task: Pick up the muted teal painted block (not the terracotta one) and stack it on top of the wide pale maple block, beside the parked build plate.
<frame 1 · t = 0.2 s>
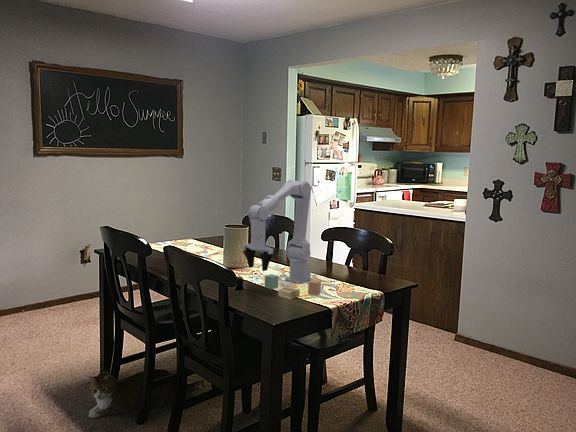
hand: (257, 268, 204), 10 cm above the table, fingers open, 7 cm apart
terracotta block: (314, 293, 206), on the table
maple block: (288, 296, 202), on the table
teal block: (271, 287, 213), on the table
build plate: (238, 288, 213), on the table
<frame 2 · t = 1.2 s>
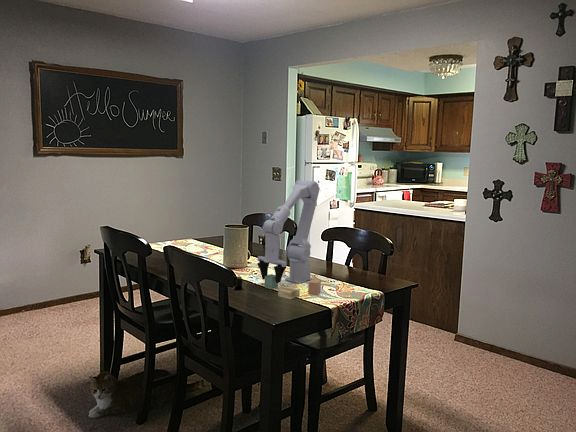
hand: (271, 280, 213), 3 cm above the table, fingers open, 7 cm apart
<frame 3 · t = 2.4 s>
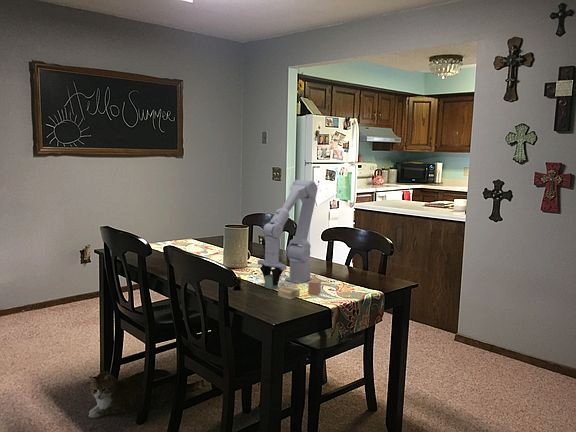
hand: (271, 284, 213), 1 cm above the table, fingers closed on teal block, 4 cm apart
teal block: (271, 287, 213), on the table, touching gripper
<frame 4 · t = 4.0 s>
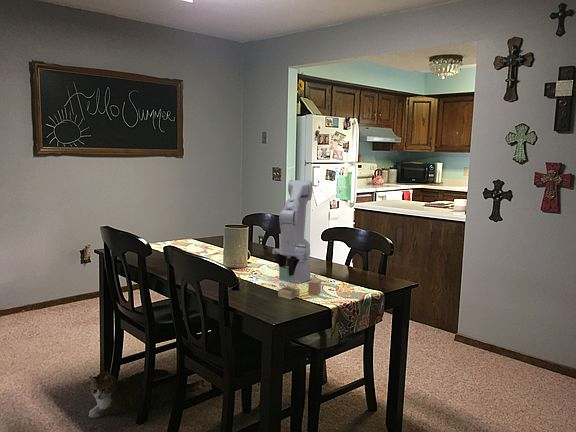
hand: (287, 274, 202), 8 cm above the table, fingers closed on teal block, 4 cm apart
teal block: (286, 279, 202), point 6 cm above the table, touching gripper
when the fingers open (6 cm above the table, at t = 5.4 s): teal block drops 1 cm, resting on maple block.
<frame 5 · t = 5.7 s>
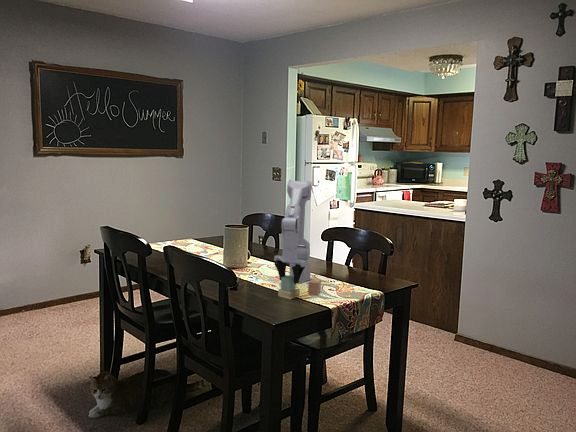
hand: (289, 281, 201), 6 cm above the table, fingers open, 7 cm apart
maple block: (288, 296, 202), on the table, touching teal block
teal block: (288, 289, 201), point 3 cm above the table, touching maple block
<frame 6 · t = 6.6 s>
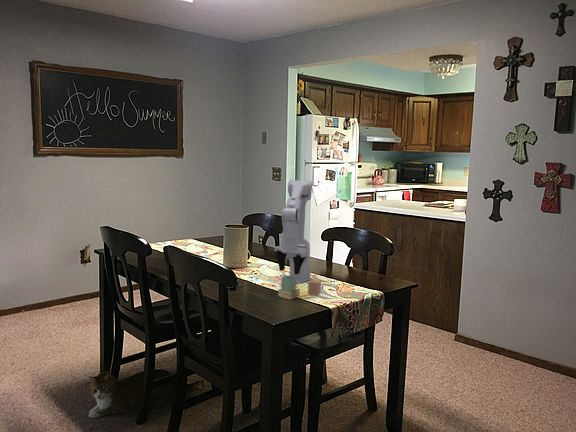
hand: (289, 272, 200), 10 cm above the table, fingers open, 7 cm apart
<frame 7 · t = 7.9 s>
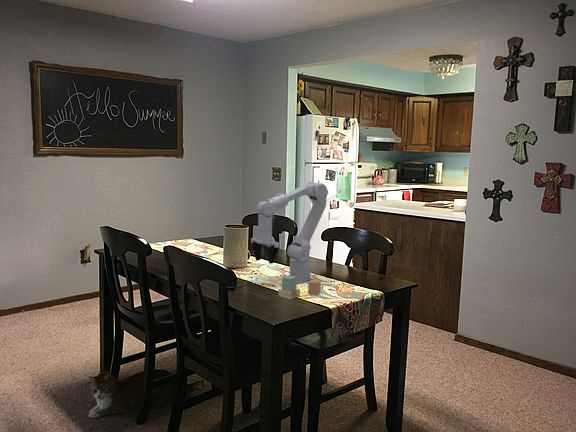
hand: (264, 261, 216), 10 cm above the table, fingers open, 7 cm apart
maple block: (289, 296, 202), on the table
teal block: (289, 289, 201), point 3 cm above the table
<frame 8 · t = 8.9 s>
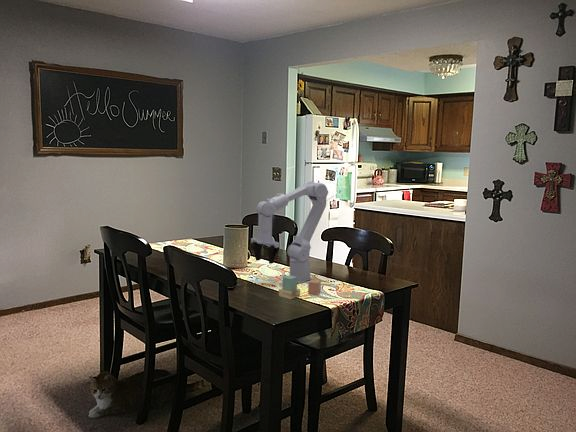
hand: (264, 261, 216), 10 cm above the table, fingers open, 7 cm apart
at the end: teal block 0.4 cm off-centre on the maple block, point 3.0 cm above the maple block's base; teal block tilted 1°; the gripper is holding nothing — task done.
